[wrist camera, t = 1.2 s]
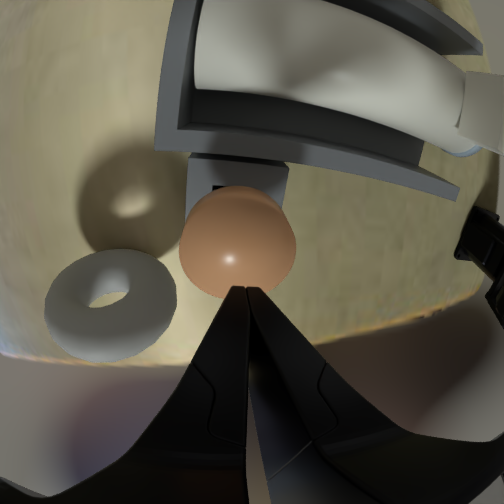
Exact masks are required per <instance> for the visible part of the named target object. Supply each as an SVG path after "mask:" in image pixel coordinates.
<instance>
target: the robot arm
mask: <svg viewBox="0 0 504 504" xmlns="http://www.w3.org/2000/svg"><path fill="white" fill-rule="evenodd" d="M498 221H499V215H497V214H495V213H493V212H490V211H488V210H485V209H483V208H480V207H478V206H474V207H473V209H472V212H471V215H470V218H469V220H468V223H467V225H466V228H465V230H464V233H463V235H462V238H461V240H460V242H459V245H458V247H457V249H456V252H455V254H454V257H455V258H456V259H457V260H467V261H473V262H474V263H475V264H476V265H477V266H478V267H479V268H480V269H481V270H482V271H483V272H484V273H485V274H486V275H487V276H488V277H489V278H490V279H491V280H492V281H493V284H492V286H491V288H490V289H489V291H488V292H487V293H486V295H485V298H486V299H487V301H488V304H489V305H490V307H491V309H492V310H493V312H494V313H495V315H496V317H497V319H498V320H499V322H500V324H501V326H502V328H503V329H504V226H503V225H502V224H500V223H499V222H498ZM248 388H249V393H250V399H251V404H252V410H253V414H254V420H255V426H256V430H257V436H258V441H259V446H260V451H261V456H262V461H263V466H264V471H265V476H266V480H267V485H268V490H269V495H270V499H271V504H504V432H502V433H501V434H499V435H498V436H497V437H495V438H494V439H493V440H491V441H489V442H469V441H459V440H451V439H444V438H437V437H431V436H426V435H420V434H415V433H412V432H410V431H407V430H405V429H403V428H401V427H400V426H398V425H397V424H396V423H394V422H393V421H391V420H390V419H389V418H388V417H387V416H385V415H384V414H383V413H382V412H381V411H379V410H378V409H377V408H376V407H375V406H373V405H372V404H371V403H370V402H369V401H367V400H366V399H365V398H364V397H363V396H362V395H360V394H359V393H358V392H357V391H356V390H355V389H354V388H353V387H351V386H350V385H349V384H348V383H347V382H346V381H345V380H344V379H343V378H342V377H341V376H340V375H339V374H338V373H337V372H336V371H335V370H334V368H333V367H332V366H331V365H330V364H329V363H328V362H327V363H326V360H325V359H324V358H323V357H322V355H321V354H320V353H319V352H318V351H317V350H316V349H315V348H314V347H313V346H312V345H311V343H310V342H309V341H308V340H307V339H306V338H305V337H304V336H303V335H302V334H301V332H300V331H299V330H298V329H297V328H296V327H295V326H294V325H293V324H292V323H291V321H290V320H289V319H288V318H287V317H286V316H285V315H284V314H283V313H282V311H281V310H280V309H279V308H278V307H277V306H276V305H275V304H274V303H273V301H272V300H271V299H270V298H269V297H268V296H267V295H266V294H265V292H264V291H263V290H262V289H261V288H260V287H254V286H247V287H246V288H245V287H244V286H234V285H233V286H231V287H230V289H229V291H228V293H227V295H226V297H225V299H224V300H223V302H222V304H221V306H220V308H219V310H218V312H217V314H216V315H215V317H214V319H213V321H212V323H211V325H210V327H209V329H208V330H207V332H206V334H205V336H204V338H203V340H202V342H201V344H200V345H199V347H198V349H197V351H196V353H195V355H194V357H193V359H192V360H191V363H190V364H189V366H188V368H187V370H186V371H185V373H184V375H183V377H182V378H181V380H180V382H179V384H178V385H177V387H176V389H175V390H174V392H173V393H172V394H171V396H170V397H169V399H168V400H167V402H166V403H165V404H164V406H163V407H162V409H161V410H160V411H159V413H158V414H157V415H156V416H155V418H154V419H153V420H152V421H151V423H150V424H149V425H148V427H147V428H146V429H145V431H144V432H143V433H142V435H141V436H140V437H139V438H138V440H137V441H136V442H135V443H134V444H133V446H132V447H131V448H130V449H129V450H128V451H127V452H126V453H125V454H124V455H123V456H121V457H120V458H119V459H118V460H116V461H115V462H113V463H112V464H110V465H108V466H107V467H105V468H103V469H102V470H100V471H99V472H97V473H95V474H94V475H92V476H90V477H88V478H87V479H85V480H83V481H81V482H80V483H78V484H76V485H74V486H72V487H71V488H69V489H67V490H65V491H63V492H61V493H59V494H56V495H53V496H50V497H47V496H45V495H42V494H39V493H36V492H34V491H32V490H29V489H27V488H25V487H22V486H20V485H18V484H16V483H14V482H12V481H9V480H7V479H5V478H3V477H0V504H249V497H248V489H247V479H246V437H247V410H248Z"/></svg>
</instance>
